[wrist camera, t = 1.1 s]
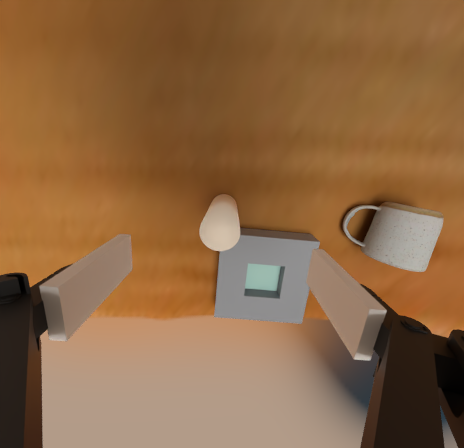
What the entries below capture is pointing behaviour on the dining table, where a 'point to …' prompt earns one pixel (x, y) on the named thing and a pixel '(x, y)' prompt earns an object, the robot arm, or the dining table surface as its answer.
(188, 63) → the dining table surface
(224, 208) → the dowel pin
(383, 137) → the dining table surface
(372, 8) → the dining table surface
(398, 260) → the ceramic mug
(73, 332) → the robot arm
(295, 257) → the bore block
